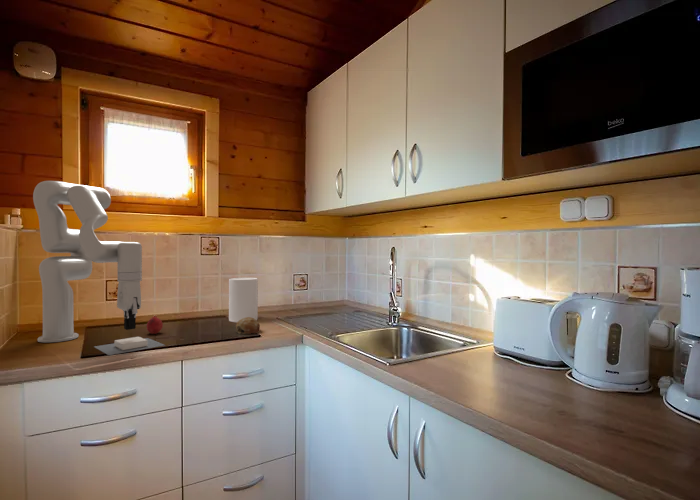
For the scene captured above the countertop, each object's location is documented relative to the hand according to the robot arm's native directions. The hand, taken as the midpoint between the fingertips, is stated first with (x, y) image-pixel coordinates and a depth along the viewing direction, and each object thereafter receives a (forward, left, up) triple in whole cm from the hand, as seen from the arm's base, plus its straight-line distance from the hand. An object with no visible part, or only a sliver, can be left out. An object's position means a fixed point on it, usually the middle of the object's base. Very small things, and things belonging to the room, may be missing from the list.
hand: (129, 328), depth 140 cm
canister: (-17, +57, -7) cm, 60 cm away
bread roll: (+8, +43, -7) cm, 45 cm away
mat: (0, 0, -7) cm, 7 cm away
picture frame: (-3, 0, -5) cm, 6 cm away
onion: (-14, +14, -7) cm, 21 cm away
